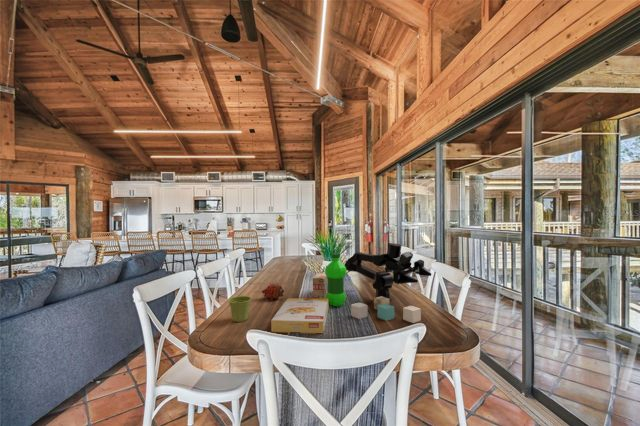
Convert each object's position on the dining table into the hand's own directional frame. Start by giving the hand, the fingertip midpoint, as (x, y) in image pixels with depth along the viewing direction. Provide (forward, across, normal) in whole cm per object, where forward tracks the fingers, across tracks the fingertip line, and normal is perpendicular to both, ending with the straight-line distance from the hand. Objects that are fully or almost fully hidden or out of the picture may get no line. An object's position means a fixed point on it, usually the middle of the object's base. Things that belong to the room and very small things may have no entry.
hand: (424, 277), depth 125 cm
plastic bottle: (-30, -28, +17) cm, 44 cm away
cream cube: (+4, -13, +14) cm, 19 cm away
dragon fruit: (-56, -50, +17) cm, 77 cm away
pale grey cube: (-12, -28, +13) cm, 33 cm away
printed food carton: (-46, -25, +21) cm, 57 cm away
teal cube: (-4, -20, +14) cm, 24 cm away
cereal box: (-22, -50, +12) cm, 56 cm away
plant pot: (-37, -72, +9) cm, 82 cm away
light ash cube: (-13, -14, +17) cm, 25 cm away
